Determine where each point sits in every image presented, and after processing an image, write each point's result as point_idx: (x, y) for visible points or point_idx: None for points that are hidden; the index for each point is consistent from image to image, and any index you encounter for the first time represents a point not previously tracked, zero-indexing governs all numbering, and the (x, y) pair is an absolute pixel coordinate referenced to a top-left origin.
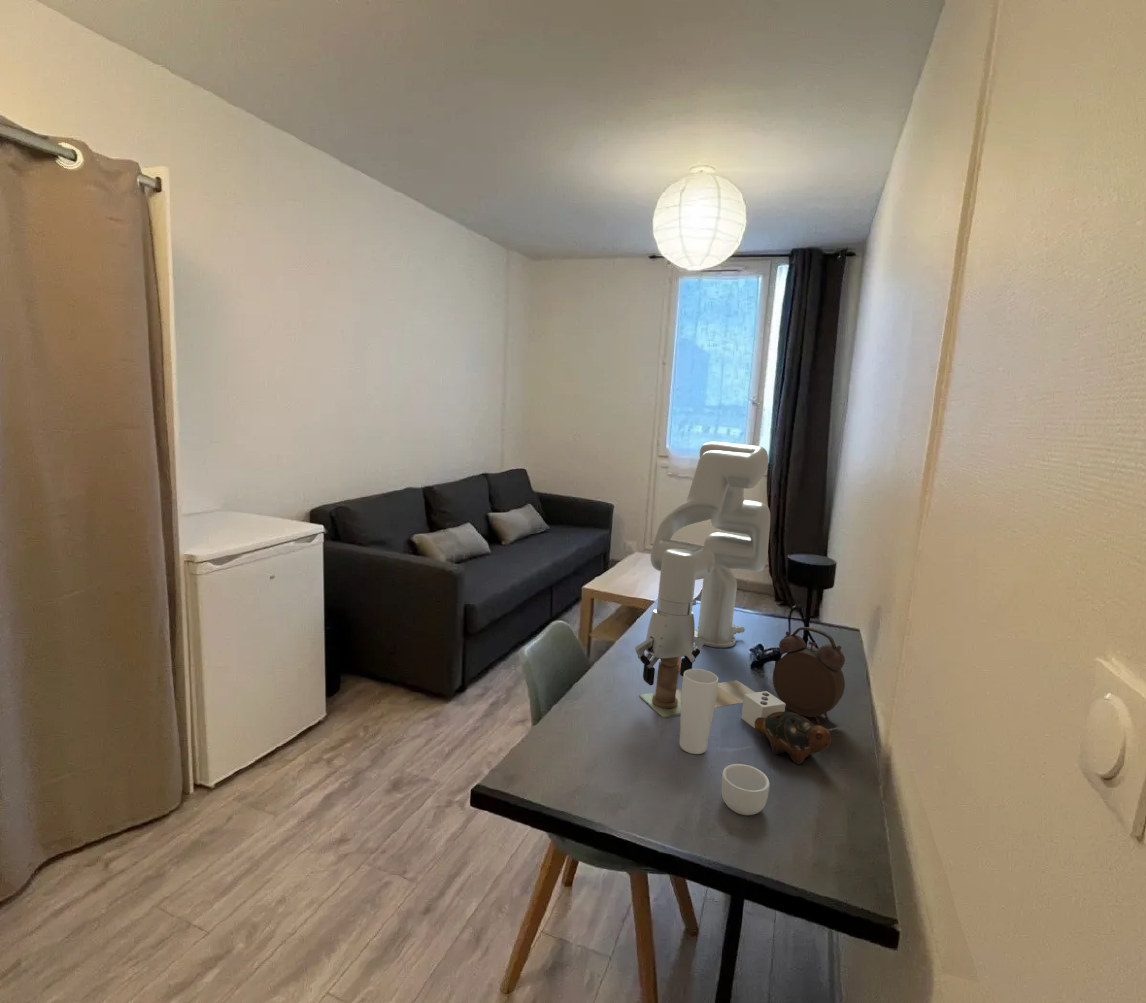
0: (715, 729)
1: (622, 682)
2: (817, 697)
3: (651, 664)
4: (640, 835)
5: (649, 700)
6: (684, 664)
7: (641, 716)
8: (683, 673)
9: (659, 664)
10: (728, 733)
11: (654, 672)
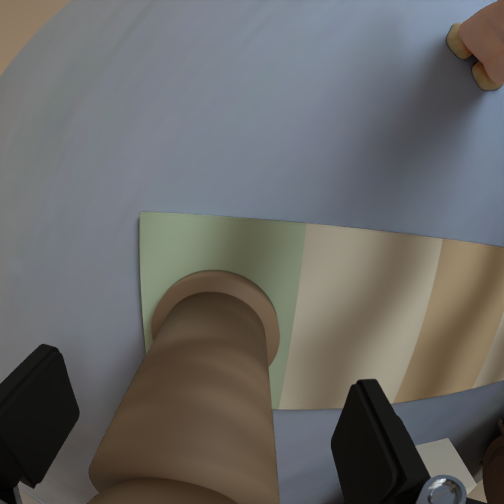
0: (279, 472)
1: (157, 48)
2: (494, 501)
3: (3, 488)
4: (33, 496)
5: (157, 282)
6: (365, 485)
7: (82, 352)
8: (348, 428)
9: (93, 472)
10: (296, 485)
11: (47, 467)
